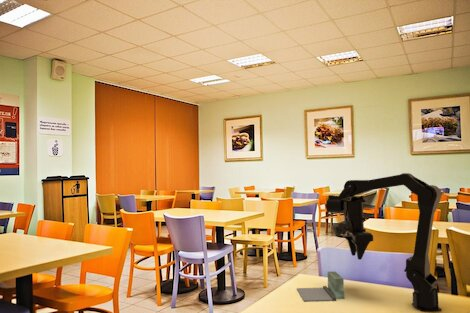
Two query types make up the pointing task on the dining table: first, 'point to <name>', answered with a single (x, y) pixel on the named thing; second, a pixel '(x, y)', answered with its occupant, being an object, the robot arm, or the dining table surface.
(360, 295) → the dining table surface
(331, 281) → the grey-green rectangular block
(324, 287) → the slate board
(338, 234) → the robot arm
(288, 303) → the dining table surface
